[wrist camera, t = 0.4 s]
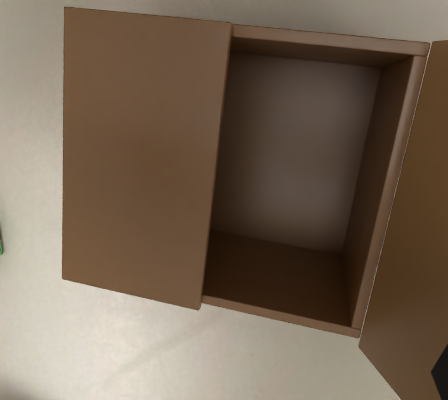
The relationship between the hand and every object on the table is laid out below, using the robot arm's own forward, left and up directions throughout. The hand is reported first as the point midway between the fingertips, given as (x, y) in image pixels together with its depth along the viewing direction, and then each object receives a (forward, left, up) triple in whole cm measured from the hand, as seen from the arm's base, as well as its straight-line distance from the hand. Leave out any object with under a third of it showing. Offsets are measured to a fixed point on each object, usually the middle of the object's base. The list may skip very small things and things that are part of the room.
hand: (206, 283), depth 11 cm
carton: (-1, -2, -18) cm, 18 cm away
